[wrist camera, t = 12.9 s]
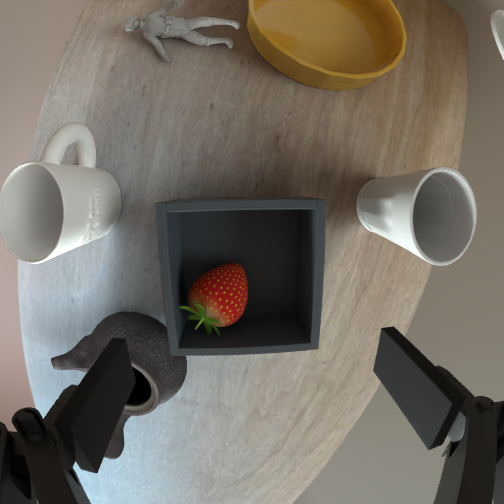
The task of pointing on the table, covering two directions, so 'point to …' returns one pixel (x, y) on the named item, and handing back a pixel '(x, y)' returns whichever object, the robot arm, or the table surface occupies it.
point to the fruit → (218, 296)
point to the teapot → (143, 363)
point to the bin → (255, 266)
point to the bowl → (328, 39)
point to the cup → (421, 212)
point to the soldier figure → (177, 28)
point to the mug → (58, 200)
